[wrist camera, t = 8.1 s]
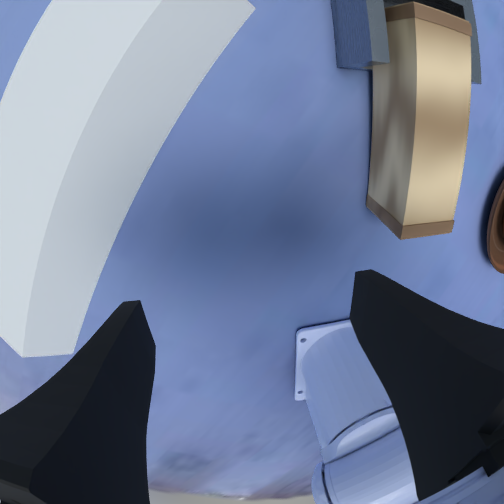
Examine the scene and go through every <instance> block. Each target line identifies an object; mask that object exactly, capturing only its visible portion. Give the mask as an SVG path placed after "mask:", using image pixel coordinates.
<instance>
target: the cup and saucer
mask: <svg viewBox="0 0 504 504" xmlns="http://www.w3.org/2000/svg"><path fill="white" fill-rule="evenodd" d="M487 251H488V256H489V260H490V262H491V264H492V265H493V267H494V268H495V269H496V270H497V271H498V272H500V273H503V274H504V179H503V181H502V183H501V185H500V187H499V189H498V191H497V193H496V196H495V198H494V201H493V204H492V208H491V211H490V215H489V220H488V227H487Z"/></svg>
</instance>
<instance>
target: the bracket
mask: <svg viewBox="0 0 504 504" xmlns="http://www.w3.org/2000/svg"><path fill="white" fill-rule="evenodd" d="M413 1H414V2H417V3H420V4H423V5H426V6H429V7H432V8H435V9H438V10H441V11H444V12H446V13H449V14H451V15H454V16H457V17H459V18H461V19H464V20H466V21H469V23H471V28H472V36H470V40H471V83H472V84H481V67H480V54H479V44H478V36H477V28H476V21H475V15H474V9H473V4H472V0H331V7H332V15H333V24H334V34H335V45H336V58H337V68H347V69H359V70H369V71H373V66H374V65H381V64H388V63H390V58H389V46H388V35H387V26H386V18H385V10H384V8H386V7H391V6H395V5H399V4H403V3H408V2H413Z"/></svg>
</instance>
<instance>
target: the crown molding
mask: <svg viewBox="0 0 504 504" xmlns="http://www.w3.org/2000/svg"><path fill="white" fill-rule="evenodd" d="M255 9H256V8H255V7H254V6H253V5H252V4H251V3H250V2H249V1H247V0H52V1H51V3H50V4H49V6H48V7H47V9H46V10H45V12H44V14H43V15H42V17H41V19H40V20H39V22H38V24H37V25H36V27H35V29H34V31H33V33H32V34H31V36H30V38H29V40H28V42H27V44H26V46H25V48H24V50H23V52H22V54H21V56H20V58H19V60H18V62H17V64H16V66H15V68H14V71H13V73H12V75H11V77H10V80H9V82H8V84H7V87H6V89H5V92H4V94H3V97H2V100H1V102H0V336H1V337H2V338H3V339H4V340H5V341H6V342H7V343H8V344H9V345H10V346H11V347H12V348H13V349H14V350H15V351H16V352H17V353H18V354H19V355H20V356H21V357H38V356H53V355H65V354H73V352H74V348H75V345H76V342H77V339H78V336H79V332H80V329H81V326H82V323H83V320H84V317H85V315H86V312H87V309H88V306H89V303H90V300H91V298H92V295H93V292H94V290H95V287H96V284H97V282H98V279H99V277H100V274H101V272H102V269H103V267H104V264H105V262H106V259H107V257H108V254H109V252H110V250H111V247H112V245H113V243H114V240H115V238H116V236H117V234H118V231H119V229H120V227H121V225H122V223H123V221H124V218H125V216H126V214H127V212H128V210H129V208H130V206H131V204H132V202H133V200H134V198H135V195H136V193H137V191H138V189H139V188H140V186H141V184H142V182H143V180H144V178H145V176H146V174H147V172H148V170H149V168H150V166H151V165H152V163H153V161H154V159H155V157H156V155H157V154H158V152H159V150H160V148H161V146H162V145H163V143H164V141H165V139H166V138H167V136H168V134H169V132H170V131H171V129H172V127H173V126H174V124H175V122H176V121H177V119H178V117H179V116H180V114H181V112H182V111H183V109H184V108H185V106H186V104H187V103H188V101H189V100H190V98H191V97H192V95H193V94H194V92H195V90H196V89H197V87H198V86H199V84H200V83H201V81H202V80H203V78H204V77H205V75H206V74H207V73H208V71H209V70H210V68H211V67H212V65H213V64H214V62H215V61H216V60H217V58H218V57H219V55H220V54H221V53H222V51H223V50H224V49H225V47H226V46H227V45H228V43H229V42H230V41H231V39H232V38H233V37H234V35H235V34H236V33H237V31H238V30H239V29H240V27H241V26H242V25H243V24H244V22H245V21H246V20H247V19H248V17H249V16H250V15H251V14H252V12H253V11H254V10H255Z"/></svg>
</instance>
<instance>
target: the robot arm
mask: <svg viewBox="0 0 504 504" xmlns="http://www.w3.org/2000/svg"><path fill="white" fill-rule="evenodd" d="M349 319H350V320H345V321H340V322H335V323H330V324H324V325H319V326H313V327H308V328H302V329H300V330H298V331H297V334H296V365H295V392H294V397H295V400H297V401H300V400H305V399H306V402H307V405H308V409H309V412H310V415H311V418H312V421H313V424H314V428H315V431H316V434H317V437H318V440H319V443H320V445H321V447H322V449H321V450H320V452H321V455H322V458H323V462H321V463H319V464H317V465H316V467H315V470H314V474H313V476H312V483H311V484H312V493H313V497H314V501H315V503H316V504H504V329H502V328H498V327H494V326H491V325H488V324H485V323H481V322H478V321H476V320H473V319H470V318H468V317H465V316H463V315H460V314H458V313H455V312H453V311H451V310H448V309H446V308H444V307H442V306H440V305H438V304H436V303H434V302H432V301H430V300H428V299H426V298H424V297H422V296H420V295H419V294H417V293H415V292H413V291H411V290H409V289H408V288H406V287H404V286H402V285H400V284H399V283H397V282H395V281H393V280H391V279H390V278H388V277H386V276H384V275H382V274H380V273H378V272H376V271H374V270H365V271H358V272H355V280H354V289H353V297H352V304H351V311H350V318H349ZM302 338H304V339H302ZM301 339H302V340H301ZM155 351H156V345H155V343H154V340H153V337H152V334H151V331H150V329H149V326H148V323H147V320H146V317H145V314H144V311H143V308H142V305H141V301H140V300H137V301H127V302H123V303H122V304H121V305H120V306H119V307H118V308H117V309H116V310H115V311H114V312H113V313H112V314H111V316H110V317H109V318H108V319H107V320H106V321H105V322H104V324H103V325H102V326H101V327H100V328H99V329H98V330H97V332H96V333H95V334H94V335H93V336H92V337H91V338H90V340H89V341H88V342H87V343H86V344H85V345H84V346H83V347H82V348H81V349H80V350H79V351H78V352H77V353H76V354H75V356H74V357H73V358H72V359H71V360H70V361H69V362H68V363H67V364H66V365H65V366H64V367H63V368H62V369H61V370H60V371H58V372H57V373H56V374H55V375H54V376H53V377H52V378H51V379H49V380H48V381H47V382H46V383H45V384H43V385H42V386H41V387H40V388H38V389H37V390H36V391H34V392H33V393H32V394H30V395H29V396H28V397H27V398H25V399H24V400H22V401H21V402H20V403H18V404H17V405H15V406H14V407H12V408H10V409H9V410H7V411H6V412H4V413H2V414H1V415H0V500H1V503H0V504H150V501H149V493H148V480H147V462H146V434H147V423H148V415H149V408H150V401H151V395H152V388H153V381H154V374H155Z"/></svg>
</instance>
